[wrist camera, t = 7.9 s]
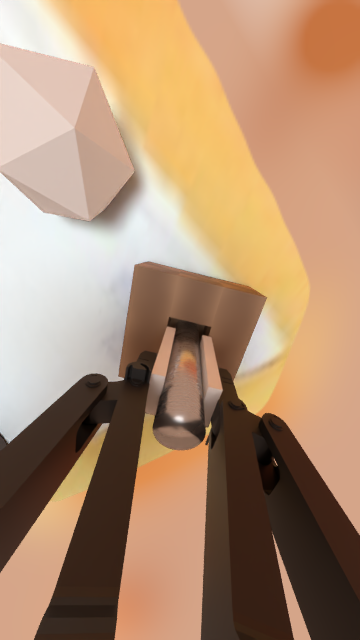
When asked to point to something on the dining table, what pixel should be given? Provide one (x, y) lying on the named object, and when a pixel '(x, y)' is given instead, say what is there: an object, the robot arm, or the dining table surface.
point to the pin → (182, 393)
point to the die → (59, 135)
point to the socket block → (189, 312)
